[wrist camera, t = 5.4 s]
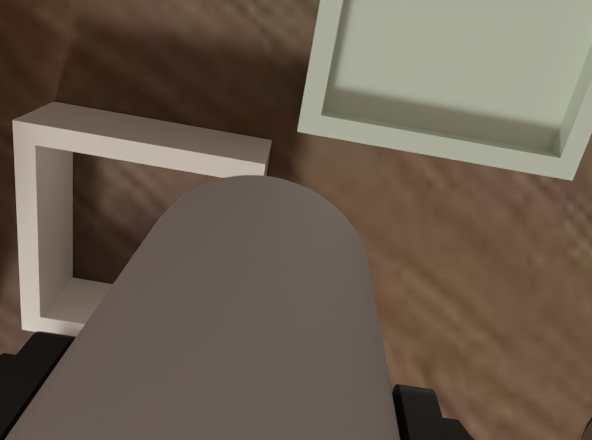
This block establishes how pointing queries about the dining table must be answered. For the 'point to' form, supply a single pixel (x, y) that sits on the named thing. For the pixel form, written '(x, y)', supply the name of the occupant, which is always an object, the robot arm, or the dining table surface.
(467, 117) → the tray
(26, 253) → the holder
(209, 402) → the beverage can
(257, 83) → the dining table surface
